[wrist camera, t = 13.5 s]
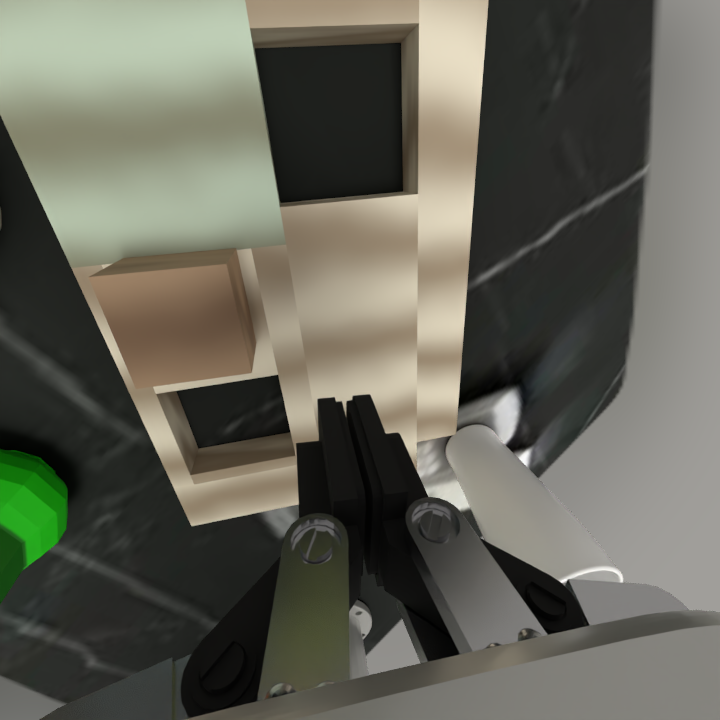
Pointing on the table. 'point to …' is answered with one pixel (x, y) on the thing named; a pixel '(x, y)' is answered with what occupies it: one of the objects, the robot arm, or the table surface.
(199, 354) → the block
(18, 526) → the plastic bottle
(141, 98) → the board
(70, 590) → the table surface
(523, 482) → the drinking glass
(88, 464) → the table surface
